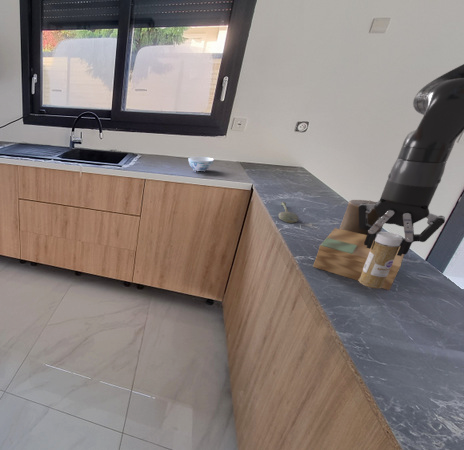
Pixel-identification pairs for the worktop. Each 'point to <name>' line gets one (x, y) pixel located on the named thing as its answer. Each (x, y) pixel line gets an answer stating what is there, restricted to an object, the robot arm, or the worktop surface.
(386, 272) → the sprinkles bottle
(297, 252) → the worktop surface
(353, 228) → the pillar candle
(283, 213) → the soupspoon
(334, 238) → the labeled wooden box
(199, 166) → the chinaware
